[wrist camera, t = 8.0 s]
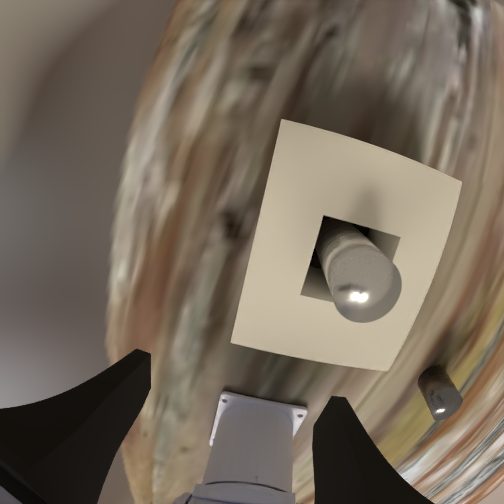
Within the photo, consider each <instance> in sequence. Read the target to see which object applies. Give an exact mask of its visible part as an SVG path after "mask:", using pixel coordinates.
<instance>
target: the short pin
mask: <svg viewBox="0 0 504 504" xmlns="http://www.w3.org/2000/svg"><path fill="white" fill-rule="evenodd" d="M418 386H419V388H420V390H421V393H422V395H423V397H424V399H425V401H426V403H427V405H428V407H429V409H430V412H431V414H432V416H433V418H434V419H435V420H443V419H446V418H448V417H450V416H451V415H453V414H454V413H455V412H456V411H457V410H458V409H459V408H460V406H461V404H462V402H463V399H462V397H461V395H460V394H459V392H458V390H457V389H456V387H455V385H454V384H453V382H452V380H451V379H450V377H449V376H448V374H447V372H446V371H445V369H444V368H443V367H442V366H440V365H435V366H432V367H430V368H428V369H427V370H426V371H424V372H423V373H422V374H421V376H420V377H419V379H418Z"/></svg>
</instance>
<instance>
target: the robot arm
mask: <svg viewBox="0 0 504 504" xmlns="http://www.w3.org/2000/svg"><path fill="white" fill-rule="evenodd" d="M150 389H151V354H150V353H147V352H145V351H142V350H139V349H135V350H134V351H132V352H131V353H129V354H128V355H127V356H125V357H124V358H122V359H121V360H119V361H118V362H116V363H115V364H114V365H112V366H111V367H109V368H107V369H106V370H104V371H103V372H101V373H100V374H98V375H97V376H95V377H93V378H91V379H89V380H87V381H86V382H84V383H82V384H80V385H79V386H76V387H74V388H72V389H70V390H68V391H66V392H63V393H61V394H59V395H56V396H53V397H50V398H48V399H45V400H42V401H38V402H35V403H31V404H27V405H22V406H17V407H11V408H3V409H0V504H97V502H98V499H99V496H100V493H101V490H102V487H103V484H104V482H105V479H106V476H107V474H108V471H109V469H110V466H111V464H112V461H113V459H114V457H115V454H116V452H117V450H118V449H119V447H120V445H121V443H122V441H123V440H124V438H125V436H126V435H127V433H128V431H129V430H130V428H131V426H132V425H133V423H134V421H135V419H136V418H137V416H138V414H139V413H140V411H141V409H142V407H143V405H144V403H145V401H146V398H147V396H148V394H149V391H150ZM224 399H226V400H224ZM307 413H308V409H307V408H306V407H303V406H296V405H290V404H284V403H279V402H273V401H268V400H263V399H258V398H253V397H249V396H244V395H240V394H235V393H231V392H227V391H224V392H222V393H221V395H220V400H219V404H218V408H217V412H216V417H215V421H214V425H213V429H212V434H211V438H210V442H209V444H210V445H211V446H212V448H211V452H210V455H209V459H208V463H207V466H206V470H205V474H204V477H203V481H202V484H195V488H194V491H193V493H189V492H186V493H184V494H182V495H181V496H179V497H177V498H176V499H175V500H174V501H173V503H172V504H295V493H292V469H293V437H294V435H295V434H296V432H297V430H298V429H299V427H300V425H301V423H302V422H303V420H304V418H305V416H306V415H307ZM299 414H301V415H299ZM312 451H313V467H314V483H315V503H314V504H435V503H433V502H431V501H430V500H429V499H427V498H426V497H424V496H423V495H422V494H420V493H419V492H418V491H417V490H415V489H414V488H413V487H412V486H411V485H410V484H409V483H407V482H406V481H405V480H404V479H403V478H402V477H401V476H400V475H399V474H398V473H397V472H396V471H395V469H394V468H393V467H392V466H391V465H390V464H389V463H388V461H387V460H386V459H385V458H384V456H383V455H382V454H381V452H380V451H379V450H378V448H377V447H376V446H375V444H374V443H373V441H372V440H371V438H370V437H369V435H368V434H367V432H366V430H365V429H364V427H363V426H362V424H361V422H360V421H359V419H358V417H357V416H356V414H355V412H354V411H353V409H352V407H351V405H350V404H349V402H348V400H347V399H346V397H338V396H331V398H330V400H329V401H328V403H327V405H326V406H325V408H324V410H323V411H322V413H321V414H320V416H319V418H318V419H317V421H316V422H315V424H314V428H313V443H312ZM296 504H303V503H296Z"/></svg>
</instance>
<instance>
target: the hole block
mask: <svg viewBox="0 0 504 504" xmlns="http://www.w3.org/2000/svg"><path fill="white" fill-rule="evenodd" d="M461 186H462V182H461V181H459V180H457V179H455V178H453V177H451V176H448V175H446V174H444V173H442V172H440V171H438V170H435V169H433V168H431V167H429V166H426V165H424V164H422V163H419V162H417V161H414V160H412V159H409V158H407V157H404V156H402V155H399V154H397V153H394V152H391V151H389V150H386V149H383V148H381V147H378V146H375V145H372V144H369V143H366V142H363V141H360V140H357V139H354V138H351V137H348V136H344V135H341V134H338V133H334V132H331V131H327V130H324V129H320V128H316V127H313V126H309V125H305V124H301V123H297V122H293V121H288V120H284V119H282V120H281V124H280V128H279V133H278V137H277V141H276V146H275V150H274V154H273V159H272V163H271V167H270V172H269V176H268V180H267V185H266V189H265V194H264V198H263V202H262V207H261V211H260V215H259V220H258V224H257V228H256V233H255V237H254V242H253V246H252V250H251V255H250V259H249V263H248V268H247V272H246V276H245V281H244V285H243V290H242V294H241V298H240V303H239V307H238V311H237V316H236V320H235V325H234V329H233V333H232V338H231V342H230V343H234V344H238V345H242V346H246V347H250V348H254V349H259V350H263V351H268V352H272V353H277V354H282V355H287V356H291V357H297V358H302V359H307V360H313V361H318V362H324V363H330V364H336V365H343V366H349V367H356V368H364V369H372V370H380V371H388V370H389V369H390V367H391V365H392V363H393V362H394V360H395V358H396V356H397V354H398V352H399V351H400V349H401V347H402V345H403V343H404V341H405V339H406V337H407V335H408V333H409V331H410V329H411V327H412V325H413V323H414V321H415V319H416V317H417V315H418V312H419V310H420V308H421V306H422V303H423V301H424V299H425V297H426V294H427V292H428V289H429V287H430V285H431V282H432V280H433V277H434V274H435V272H436V269H437V266H438V264H439V261H440V258H441V255H442V252H443V250H444V247H445V244H446V240H447V237H448V234H449V231H450V228H451V224H452V221H453V217H454V214H455V210H456V206H457V202H458V198H459V194H460V190H461ZM323 215H325V216H329V217H333V218H336V219H340V220H344V221H347V222H351V223H354V224H358V225H361V226H365V227H368V228H370V229H369V232H368V235H367V239H368V240H370V241H371V242H372V243H373V244H374V245H375V246H376V247H377V248H378V249H379V250H380V251H381V252H382V253H383V254H384V255H385V256H386V257H387V258H388V259H389V260H391V261H392V262H393V263H394V265H395V266H396V267H397V268H398V270H399V272H400V275H401V279H402V289H401V294H400V297H399V299H398V301H397V303H396V304H395V306H394V307H393V308H392V310H391V311H390V312H389V313H387V314H386V315H385V316H383V317H382V318H380V319H378V320H375V321H373V322H368V323H356V322H352V321H350V320H348V319H346V318H344V317H343V316H342V315H341V314H340V313H339V312H338V310H337V309H336V307H335V304H334V301H333V298H332V295H331V292H330V289H329V287H328V284H327V281H326V278H325V275H324V272H323V269H320V268H315V267H311V266H309V264H310V261H311V257H312V254H313V251H314V247H315V244H316V240H317V237H318V233H319V230H320V226H321V222H322V219H323Z"/></svg>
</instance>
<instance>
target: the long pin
mask: <svg viewBox="0 0 504 504" xmlns="http://www.w3.org/2000/svg"><path fill="white" fill-rule="evenodd" d="M315 250H316V253H317V255H318V258H319V261H320V264H321V266H322V269H323V272H324V275H325V278H326V281H327V284H328V287H329V289H330V292H331V295H332V298H333V301H334V304H335V307H336V309H337V310H338V312H339V313H340V314H341V315H342V316H343V317H344V318H346V319H348V320H350V321H352V322H356V323H368V322H373V321H375V320H378V319H380V318H382V317H383V316H385V315H386V314H387V313H389V312H390V311H391V310H392V308H393V307H394V306H395V304H396V303H397V301H398V299H399V297H400V294H401V289H402V279H401V275H400V272H399V270H398V268H397V267H396V266H395V265H394V263H393V262H392V261H391V260H389V259H388V258H387V257H386V256H385V255H384V254H383V253H382V252H381V251H380V250H379V249H378V248H377V247H376V246H375V245H374V244H373V243H372V242H371V241H370V240H368V239H367V238H366V237H365V236H364V235H363V234H362V233H361V232H360V231H359V230H358V229H356V228H355V227H354V226H353V225H352V224H351V223H350V222H347V221H344V220H340V219H336V218H331V219H328V220H326V221H324V222H323V223H321V226H320V230H319V233H318V237H317V240H316V244H315Z"/></svg>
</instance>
